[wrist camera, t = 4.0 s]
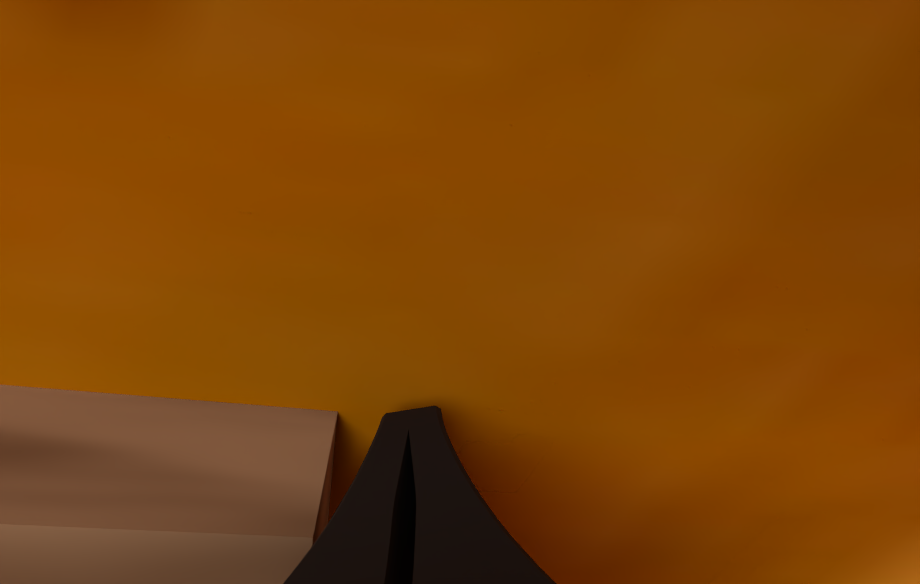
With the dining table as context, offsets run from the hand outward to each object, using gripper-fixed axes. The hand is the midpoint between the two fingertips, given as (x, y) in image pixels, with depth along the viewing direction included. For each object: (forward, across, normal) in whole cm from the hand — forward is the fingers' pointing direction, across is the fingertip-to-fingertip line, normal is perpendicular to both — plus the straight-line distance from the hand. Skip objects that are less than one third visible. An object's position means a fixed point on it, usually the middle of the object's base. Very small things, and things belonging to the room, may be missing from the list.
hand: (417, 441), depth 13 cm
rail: (+1, +7, 0) cm, 8 cm away
